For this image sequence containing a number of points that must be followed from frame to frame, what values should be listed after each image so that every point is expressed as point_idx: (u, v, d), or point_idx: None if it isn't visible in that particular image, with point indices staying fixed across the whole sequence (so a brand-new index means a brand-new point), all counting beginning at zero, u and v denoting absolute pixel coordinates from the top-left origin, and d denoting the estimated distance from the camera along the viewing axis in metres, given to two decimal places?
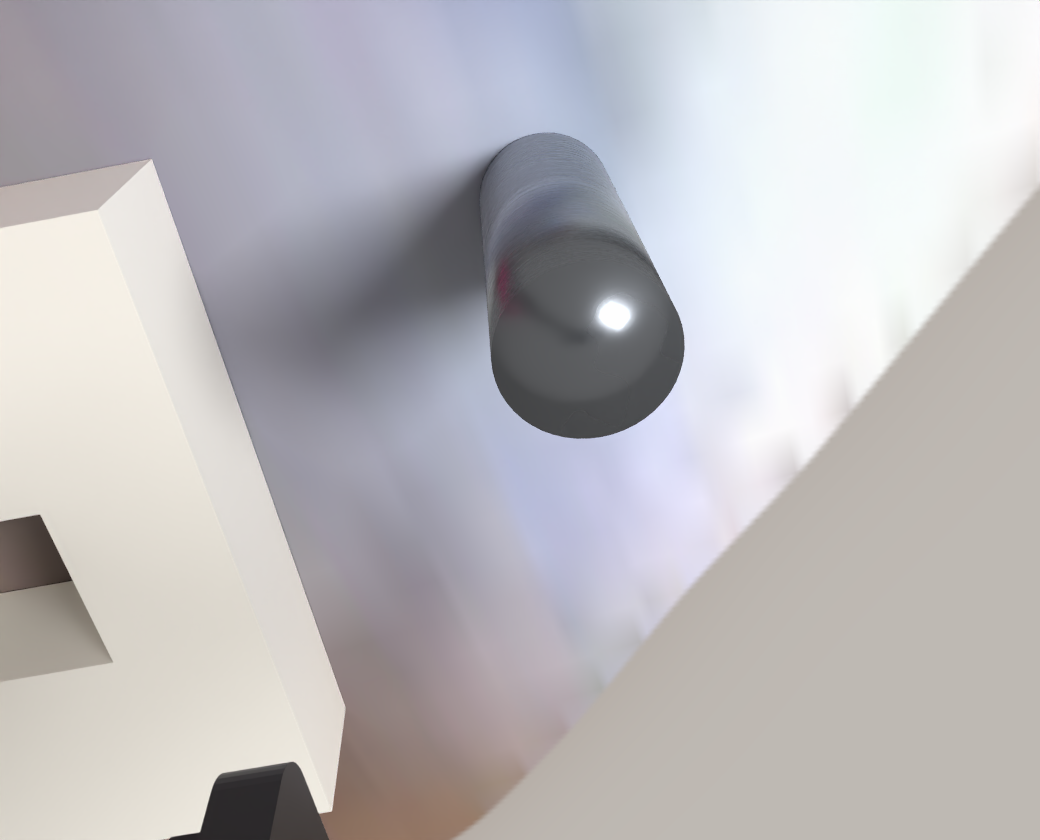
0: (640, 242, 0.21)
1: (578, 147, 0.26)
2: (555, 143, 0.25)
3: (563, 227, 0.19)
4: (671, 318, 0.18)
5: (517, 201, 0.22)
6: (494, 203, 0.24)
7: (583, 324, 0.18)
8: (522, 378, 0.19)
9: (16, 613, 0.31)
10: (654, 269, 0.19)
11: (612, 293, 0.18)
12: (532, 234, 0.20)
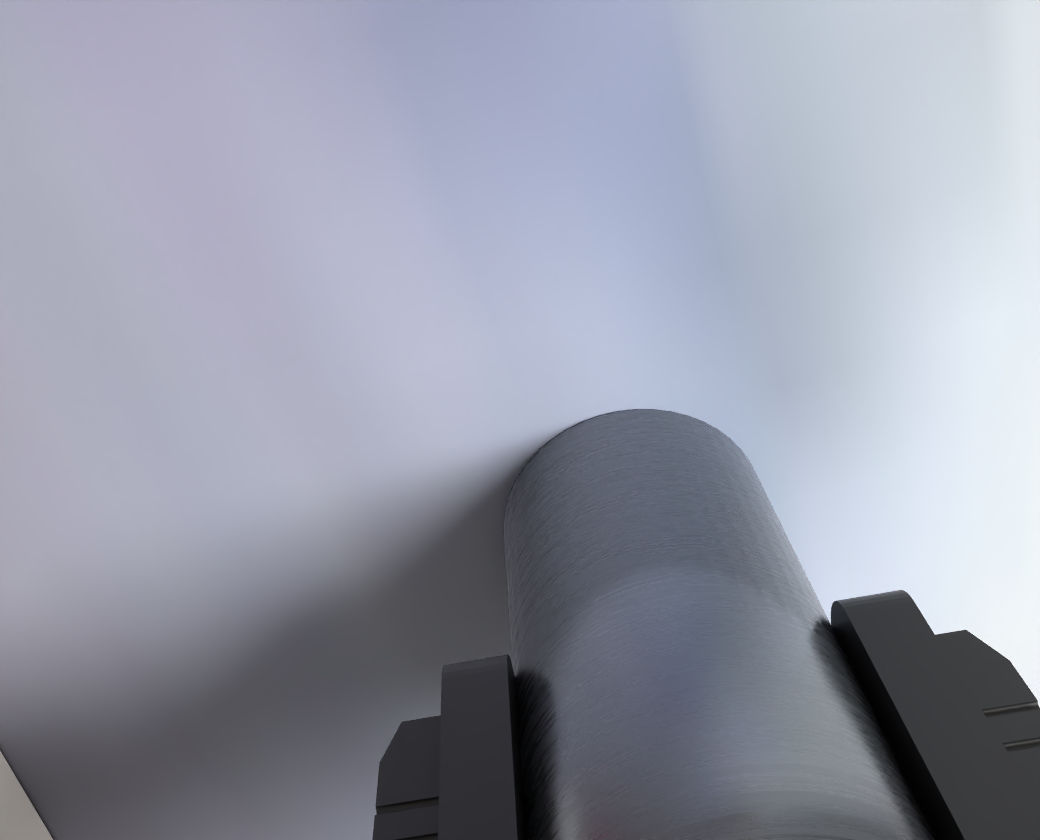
0: None
1: (713, 455, 0.12)
2: (668, 455, 0.12)
3: None
4: None
5: (611, 724, 0.09)
6: (544, 647, 0.10)
7: None
8: None
9: None
10: None
11: None
12: None
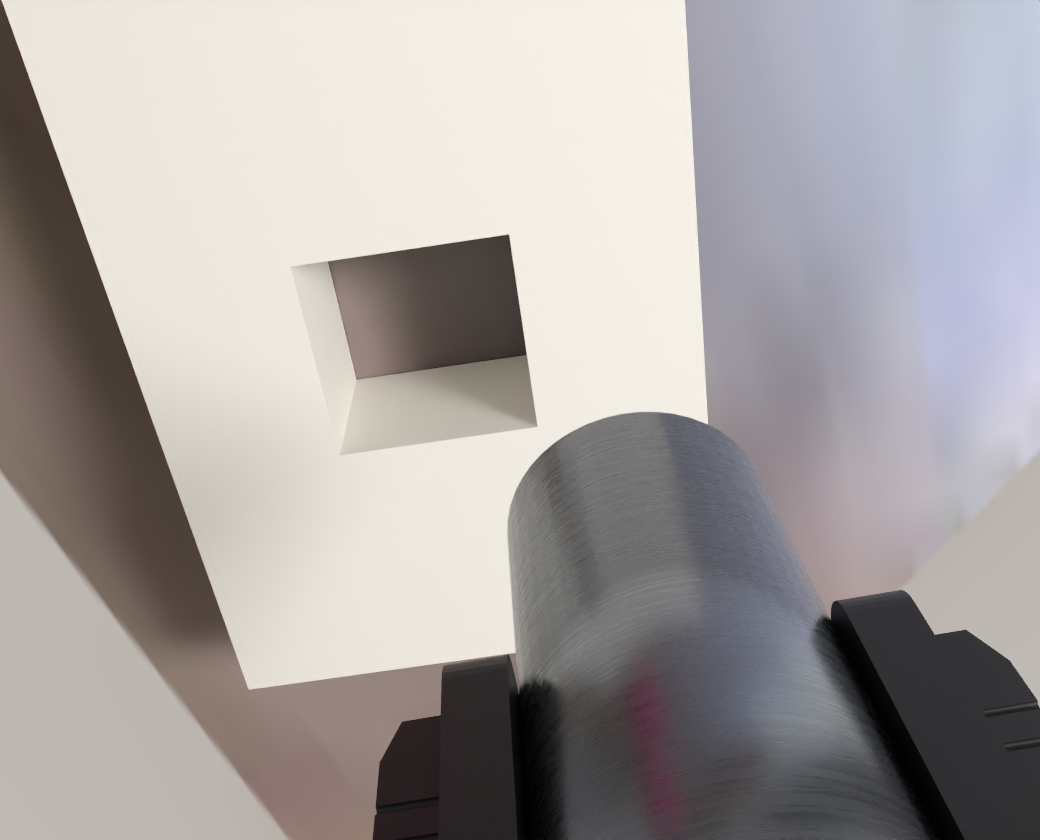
0: None
1: (717, 457, 0.12)
2: (671, 457, 0.12)
3: None
4: None
5: (617, 727, 0.09)
6: (549, 650, 0.10)
7: None
8: None
9: (388, 393, 0.29)
10: None
11: None
12: None
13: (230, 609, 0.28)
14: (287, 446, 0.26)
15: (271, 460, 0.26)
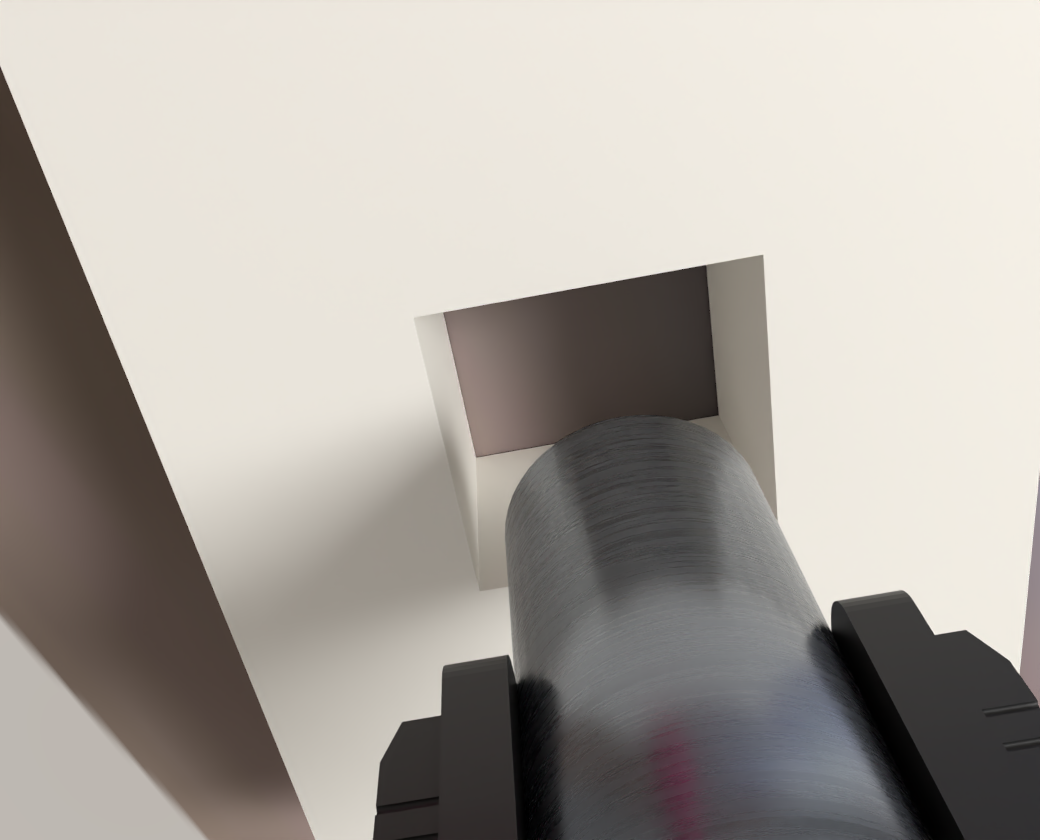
0: None
1: (714, 461, 0.12)
2: (669, 461, 0.12)
3: None
4: None
5: (612, 731, 0.09)
6: (546, 654, 0.10)
7: None
8: None
9: None
10: None
11: None
12: None
13: (315, 801, 0.19)
14: (402, 581, 0.17)
15: (377, 602, 0.17)
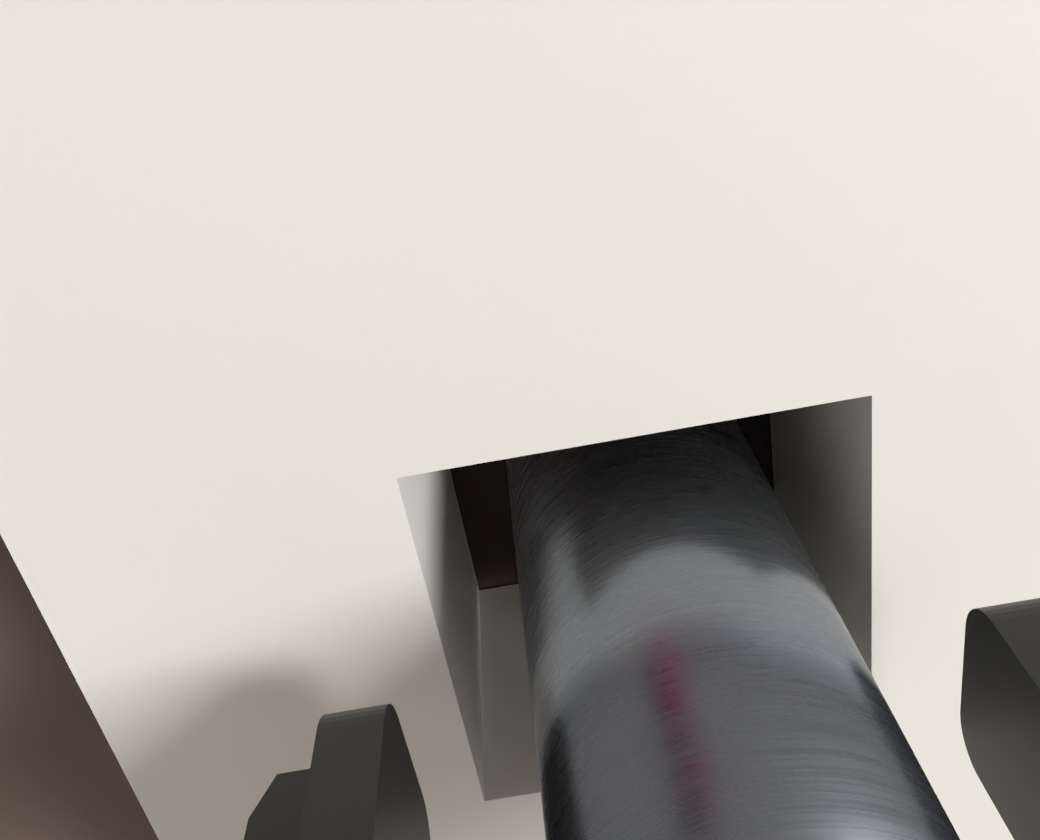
0: (883, 701, 0.09)
1: None
2: None
3: (736, 736, 0.08)
4: None
5: (597, 558, 0.11)
6: (542, 517, 0.12)
7: None
8: None
9: None
10: (958, 839, 0.08)
11: None
12: (655, 729, 0.08)
13: None
14: None
15: None
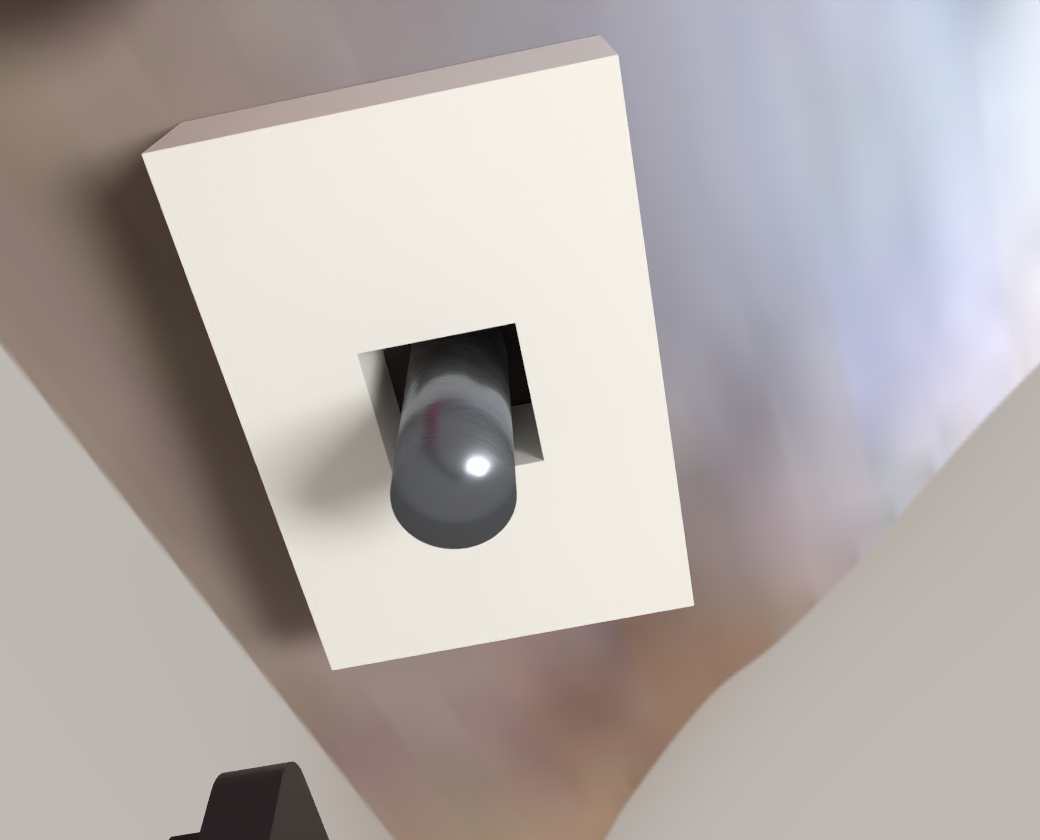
0: (499, 412, 0.30)
1: None
2: None
3: (441, 409, 0.29)
4: (505, 474, 0.28)
5: (421, 378, 0.32)
6: (411, 372, 0.34)
7: (448, 478, 0.28)
8: (411, 512, 0.28)
9: None
10: (501, 436, 0.29)
11: (465, 460, 0.28)
12: (422, 411, 0.30)
13: (317, 608, 0.37)
14: (357, 483, 0.34)
15: (346, 494, 0.35)
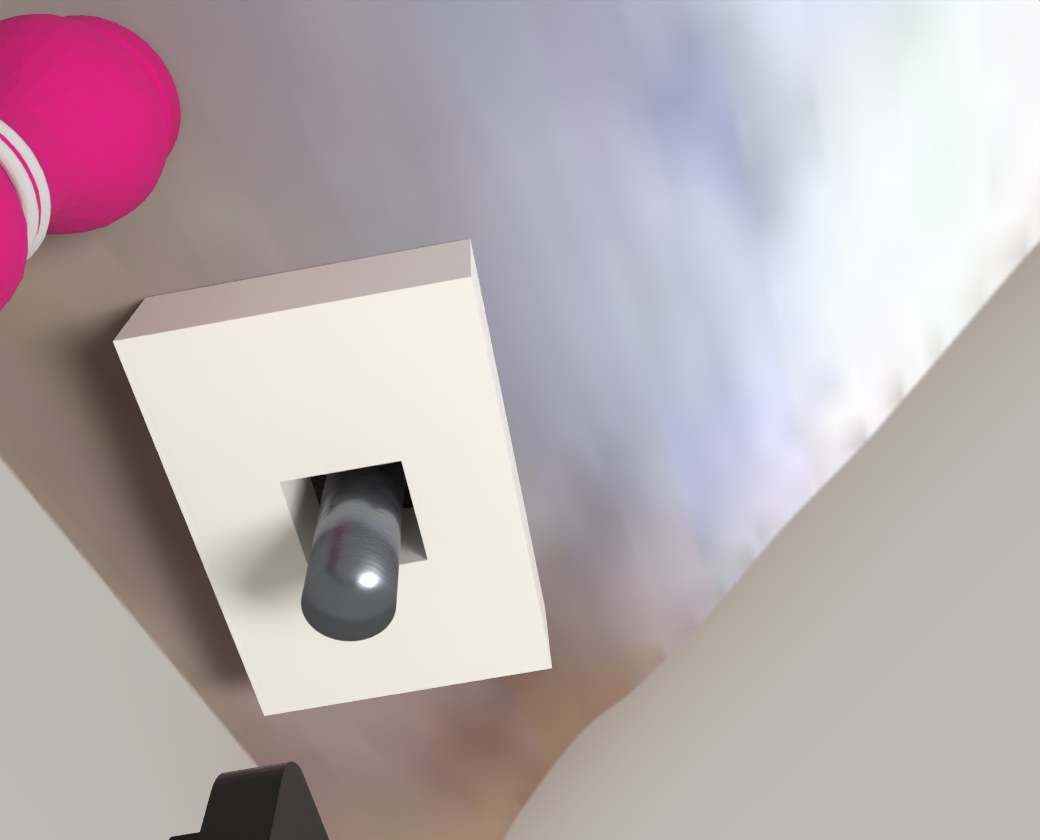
0: (387, 534, 0.40)
1: None
2: None
3: (341, 536, 0.39)
4: (387, 589, 0.38)
5: (330, 502, 0.42)
6: (324, 493, 0.43)
7: (344, 592, 0.38)
8: (317, 616, 0.38)
9: None
10: (386, 557, 0.39)
11: (356, 579, 0.37)
12: (327, 536, 0.39)
13: (251, 668, 0.46)
14: (282, 575, 0.44)
15: (273, 583, 0.44)
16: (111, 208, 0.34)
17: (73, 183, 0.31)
